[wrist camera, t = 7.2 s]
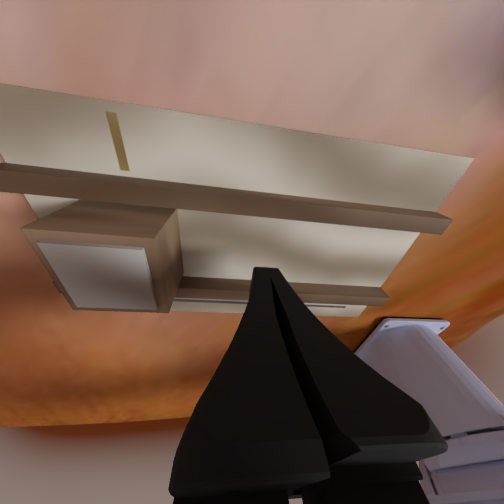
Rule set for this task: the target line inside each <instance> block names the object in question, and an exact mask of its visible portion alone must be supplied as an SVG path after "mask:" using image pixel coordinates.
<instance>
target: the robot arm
mask: <svg viewBox="0 0 504 504" xmlns="http://www.w3.org/2000/svg"><path fill="white" fill-rule="evenodd" d="M449 325H450V323H449V322H448V321H447V320H434V319H405V318H386V319H384V320H383V321H382V322H381V323H380V324H379V325H378V326H377V327H376V329H375V330H374V331H373V332H372V333H371V334H370V336H369V337H368V338H367V339H366V340H365V341H364V342H363V344H362V345H361V346H360V347H359V348H358V349H357V351H356V352H355V353H353V352H352V351H351V350H350V349H349V348H347V347H346V346H345V345H344V344H343V343H342V342H341V341H340V340H338V339H337V338H336V337H335V336H334V335H333V334H332V333H331V332H330V331H329V330H328V329H327V328H326V327H325V326H324V325H323V324H322V323H321V322H320V321H319V320H318V319H317V318H316V317H315V315H314V314H313V313H312V312H311V311H310V310H309V309H308V307H307V306H306V305H305V304H304V303H303V301H302V300H301V299H300V298H299V296H298V295H297V294H296V292H295V291H294V290H293V288H292V287H291V286H290V284H289V283H288V282H287V280H286V279H285V277H284V276H283V274H282V273H281V271H280V270H279V269H278V268H270V267H254V268H253V273H252V279H251V285H250V290H249V300H248V303H247V306H246V309H245V312H244V314H243V317H242V319H241V322H240V324H239V327H238V329H237V331H236V333H235V335H234V337H233V340H232V342H231V344H230V346H229V348H228V350H227V352H226V354H225V355H224V357H223V359H222V361H221V363H220V365H219V367H218V368H217V370H216V372H215V374H214V376H213V377H212V379H211V381H210V382H209V384H208V386H207V387H206V389H205V391H204V392H203V394H202V396H201V397H200V399H199V401H198V402H197V404H196V406H195V409H194V411H193V413H192V416H191V418H190V421H189V423H188V424H187V427H186V429H185V431H184V433H183V436H182V438H181V440H180V443H179V445H178V448H177V451H176V454H175V458H174V461H173V467H172V473H171V478H170V484H169V489H168V490H169V492H170V494H171V495H172V496H173V497H174V501H173V504H289V500H288V499H294V498H302V500H303V504H504V405H503V404H502V403H501V402H500V401H499V400H498V399H497V398H496V397H495V396H494V395H493V394H492V392H491V391H490V390H488V388H487V387H486V386H485V385H484V384H483V383H482V382H481V381H480V380H479V379H478V378H477V377H476V375H475V374H474V373H473V372H472V371H471V370H470V369H469V368H468V367H467V366H466V365H465V364H464V363H463V362H462V361H461V360H460V358H459V357H457V355H456V354H455V353H454V352H453V351H452V350H451V349H450V348H449V347H448V346H447V345H446V344H445V343H444V342H443V340H442V339H441V338H440V337H439V336H438V334H439V333H440V332H442V331H443V330H444V329H445V328H447V327H448V326H449ZM416 461H419V468H418V466H417V464H416ZM418 480H420V483H421V485H420V483H419V481H418ZM421 486H422V487H421Z"/></svg>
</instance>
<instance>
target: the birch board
mask: <svg viewBox="0 0 504 504" xmlns="http://www.w3.org/2000/svg"><path fill="white" fill-rule="evenodd" d="M0 153H1V155H2V157H3V159H4V160H5V162H6V163H1V164H0V192H10V193H21V194H24V195H25V197H26V199H27V201H28V202H29V204H30V206H31V208H32V209H33V211H34V213H35V215H36V216H37V218H38V219H40V218H43V217H45V216H47V215H49V214H51V213H53V212H55V211H57V210H60V209H62V208H64V207H66V206H68V205H70V204H72V203H74V202H77V201H79V200H81V199H82V200H92V201H102V202H113V203H123V204H133V205H143V206H153V207H164V208H174V209H177V212H178V222H179V231H180V241H181V250H182V260H183V269H184V274H183V277H182V279H181V282H180V285H179V287H178V290H177V293H176V295H175V298H174V301H173V303H172V306H171V309H170V311H195V312H225V313H244V312H245V309H246V306H247V303H248V300H249V290H250V285H251V279H252V273H253V268H254V267H270V268H278V269H279V270H280V271H281V273H282V274H283V276H284V277H285V279H286V280H287V282H288V283H289V284H290V286H291V287H292V288H293V290H294V291H295V292H296V294H297V295H298V296H299V298H300V299H301V300H302V301H303V303H304V304H305V305H306V306H307V307H308V309H309V310H310V311H311V312H312V313H313V314H314V315H315V316H343V317H359V316H360V314H361V313H362V312H363V310H364V309H365V307H366V306H384V305H385V303H386V302H387V301H388V300H389V299H390V298H389V297H388V295H387V294H386V293H385V292H384V291H383V290H382V288H381V286H382V284H383V283H384V282H385V280H386V279H387V277H388V276H389V275H390V273H391V272H392V271H393V269H394V268H395V267H396V265H397V264H398V262H399V261H400V260H401V258H402V257H403V256H404V254H405V253H406V252H407V250H408V249H409V247H410V246H411V245H412V243H413V242H414V241H415V239H416V238H417V236H418V235H419V234H420V233H429V234H440V235H442V233H443V232H444V231H445V230H446V228H447V227H448V226H449V225H450V223H451V222H452V221H453V219H450V218H448V217H446V216H444V215H441V214H439V213H437V212H436V211H437V209H438V208H439V206H440V205H441V204H442V202H443V201H444V200H445V198H446V197H447V196H448V194H449V193H450V191H451V190H452V189H453V187H454V186H455V185H456V183H457V182H458V181H459V179H460V178H461V176H462V175H463V174H464V172H465V171H466V170H467V168H468V167H469V166H470V164H471V163H472V161H473V160H474V158H467V157H461V156H455V155H448V154H442V153H436V152H429V151H423V150H417V149H411V148H404V147H398V146H392V145H385V144H379V143H373V142H367V141H360V140H354V139H348V138H341V137H335V136H329V135H323V134H316V133H310V132H304V131H297V130H291V129H285V128H279V127H272V126H266V125H260V124H253V123H247V122H241V121H235V120H228V119H222V118H216V117H209V116H203V115H197V114H190V113H184V112H178V111H172V110H165V109H159V108H153V107H146V106H140V105H134V104H128V103H121V102H115V101H109V100H102V99H96V98H90V97H84V96H77V95H71V94H65V93H58V92H52V91H46V90H40V89H33V88H27V87H21V86H14V85H8V84H2V83H0ZM53 283H54V285H55V286H56V288H57V289H58V291H59V292H60V293H62V292H61V290H60V289H59V287H58V286H57V284H56V283H55V281H53Z"/></svg>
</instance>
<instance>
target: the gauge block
mask: <svg viewBox="0 0 504 504" xmlns="http://www.w3.org/2000/svg"><path fill="white" fill-rule="evenodd" d="M20 229H21V231H22V232H23V234H24V235H25V237H26V238H27V240H28V241H29V243H30V244H31V246H32V247H33V249H34V251H35V252H36V254H37V255H38V257H39V258H40V260H41V261H42V263H43V264H44V266H45V267H46V269H47V270H48V272H49V273H50V275H51V277H52V278H53V280H54V281H55V283H56V284H57V286H58V287H59V289H60V290H61V292H62V293H63V295H64V296H65V298H66V300H67V301H68V303H69V304H70V306H71V307H72V309H73V310H94V311H125V312H156V313H169V311H170V309H171V306H172V303H173V301H174V298H175V295H176V293H177V290H178V287H179V285H180V282H181V279H182V277H183V274H184V269H183V260H182V250H181V241H180V231H179V222H178V212H177V209H174V208H164V207H153V206H143V205H133V204H123V203H113V202H102V201H92V200H82V199H81V200H79V201H77V202H74V203H72V204H70V205H68V206H66V207H64V208H62V209H60V210H57V211H55V212H53V213H51V214H49V215H47V216H45V217H43V218H40V219H38V220H36V221H34V222H32V223H30V224H28V225H26V226H23V227H21V228H20Z"/></svg>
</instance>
